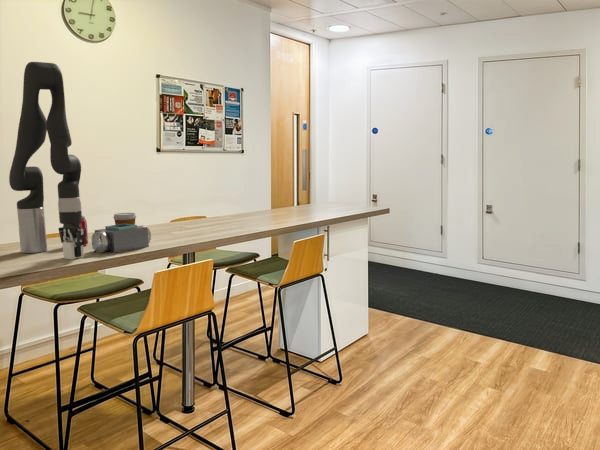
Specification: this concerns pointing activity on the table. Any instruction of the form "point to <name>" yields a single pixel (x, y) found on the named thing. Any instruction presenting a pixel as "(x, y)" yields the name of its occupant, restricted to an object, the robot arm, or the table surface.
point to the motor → (120, 238)
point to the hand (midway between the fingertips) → (73, 255)
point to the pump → (70, 250)
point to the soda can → (84, 226)
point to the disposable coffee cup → (124, 218)
